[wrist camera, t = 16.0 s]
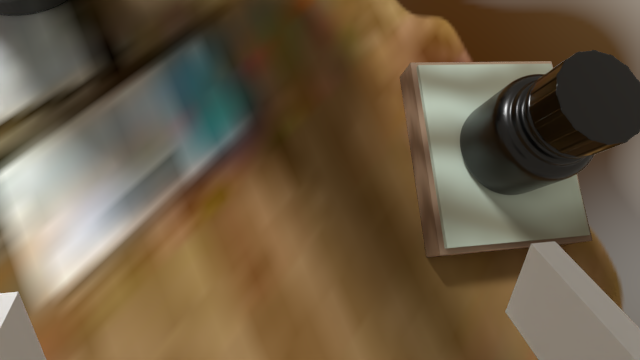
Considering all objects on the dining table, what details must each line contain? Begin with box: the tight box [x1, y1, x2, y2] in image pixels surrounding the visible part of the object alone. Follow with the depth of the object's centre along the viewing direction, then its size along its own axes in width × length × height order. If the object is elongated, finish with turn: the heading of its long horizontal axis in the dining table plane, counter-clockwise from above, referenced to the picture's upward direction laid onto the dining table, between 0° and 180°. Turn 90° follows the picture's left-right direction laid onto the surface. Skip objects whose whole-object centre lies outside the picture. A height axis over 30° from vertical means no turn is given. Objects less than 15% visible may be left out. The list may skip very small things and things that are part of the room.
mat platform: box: [400, 61, 592, 257], centre depth 44 cm, size 18×15×4 cm
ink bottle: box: [460, 50, 640, 195], centre depth 36 cm, size 10×9×12 cm
